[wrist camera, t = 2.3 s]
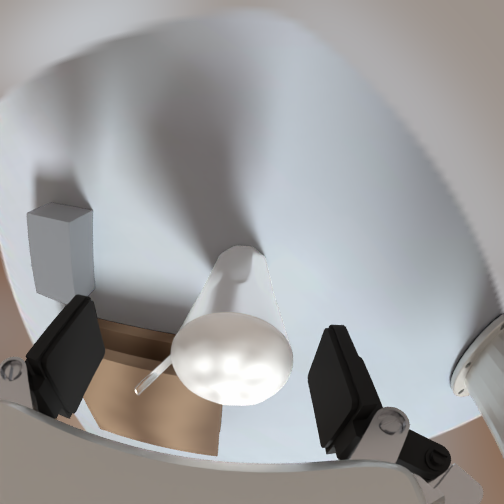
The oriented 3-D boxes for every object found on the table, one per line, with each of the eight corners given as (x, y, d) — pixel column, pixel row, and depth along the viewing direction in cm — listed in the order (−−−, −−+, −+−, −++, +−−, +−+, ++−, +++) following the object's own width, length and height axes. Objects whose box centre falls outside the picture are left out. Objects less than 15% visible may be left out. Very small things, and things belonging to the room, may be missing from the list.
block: (94, 209, 16) (69, 222, 13) (96, 286, 18) (76, 308, 15) (53, 201, 16) (26, 212, 13) (57, 274, 18) (36, 292, 15)
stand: (228, 342, 19) (222, 382, 16) (220, 424, 24) (217, 456, 20) (84, 314, 19) (60, 344, 15) (112, 401, 23) (100, 428, 20)
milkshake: (192, 230, 16) (119, 342, 7) (283, 236, 16) (313, 362, 7) (193, 296, 18) (147, 425, 9) (274, 302, 18) (285, 439, 9)
